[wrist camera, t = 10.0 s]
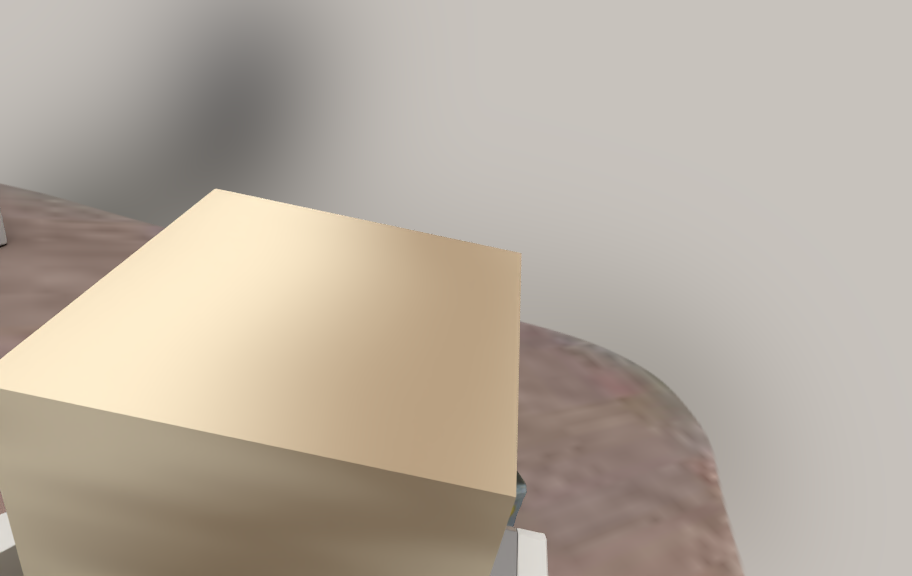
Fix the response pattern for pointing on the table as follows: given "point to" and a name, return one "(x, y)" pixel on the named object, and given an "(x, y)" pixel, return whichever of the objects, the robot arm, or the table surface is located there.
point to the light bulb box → (2, 232)
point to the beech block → (270, 404)
